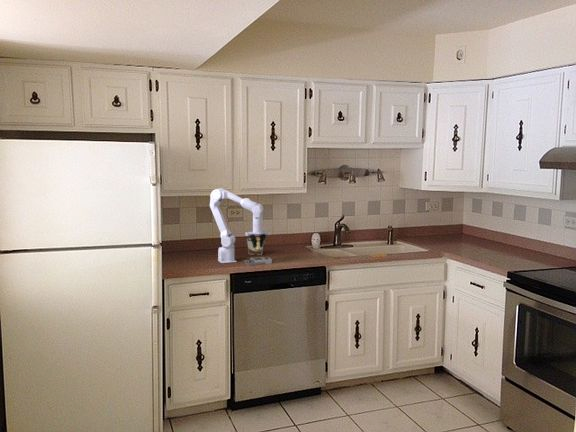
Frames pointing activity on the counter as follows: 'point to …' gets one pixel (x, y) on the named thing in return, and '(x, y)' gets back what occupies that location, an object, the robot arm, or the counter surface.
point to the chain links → (258, 261)
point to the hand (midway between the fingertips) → (257, 247)
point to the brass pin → (257, 245)
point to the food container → (251, 249)
